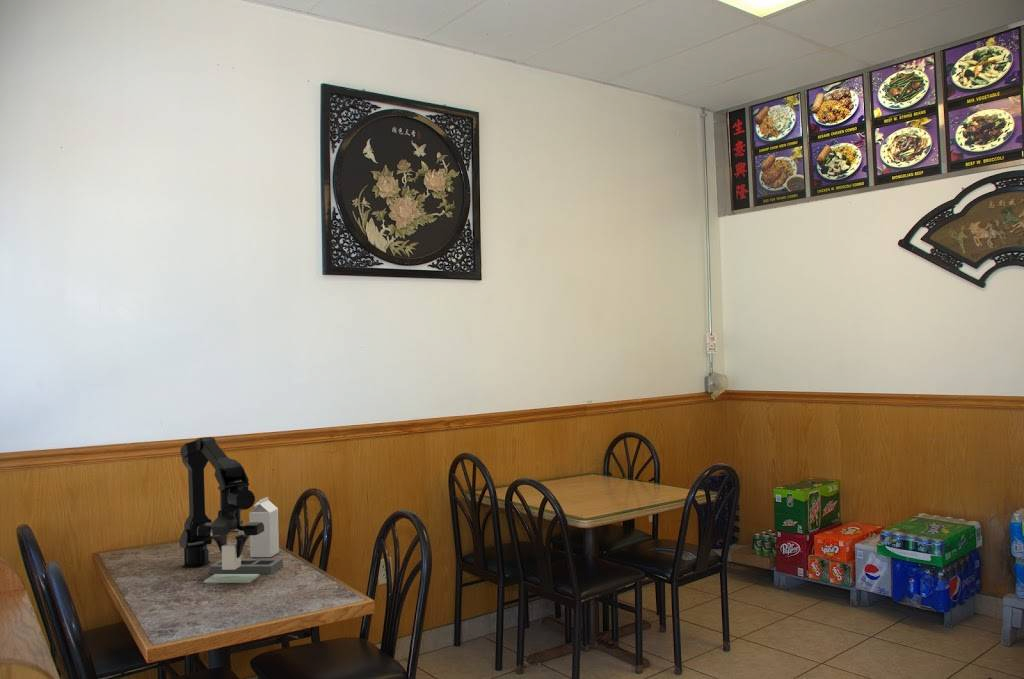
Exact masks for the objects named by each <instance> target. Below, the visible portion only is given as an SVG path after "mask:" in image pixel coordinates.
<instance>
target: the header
mask: <svg viewBox="0 0 1024 679" xmlns="http://www.w3.org/2000/svg"><path fill="white" fill-rule="evenodd" d="M283 561H284V559H283V558H241V566H240V567H238V568H237V569H235V570H222V558H221V559H220V560H218V561H216V562H215V563H212V564H211V565H209V566H208V575H214V574H259V575H272V574H274V573H276V572H277V571H279V568H280V569H282V566H284V562H283Z"/></svg>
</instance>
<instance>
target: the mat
mask: <svg viewBox="0 0 1024 679" xmlns="http://www.w3.org/2000/svg"><path fill="white" fill-rule="evenodd" d="M258 577H260V574H212V575H211V576H210V577H208V578H206V579H205V580H203V583H204V584H215V583H216V584H223V583H224V584H229V583H230V584H233V583H234V584H235V583H236V584H240V583H241V584H249V583H251V582H253V581H255V580H256V579H258Z"/></svg>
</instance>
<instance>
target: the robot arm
mask: <svg viewBox="0 0 1024 679" xmlns="http://www.w3.org/2000/svg"><path fill="white" fill-rule="evenodd" d="M180 456H181V461H182V464H183V465H184V466H185V468H186V469H187V474H188V476H187V478H188V479H187V480H188V481H187V483H188V508H189V509H188V510H189V511H188V512H189V514H188V516H187V518H186V520H185V522H184V524H183V531H182V533H181V535H180V538H179V539H178V543H179V547H180V548H181V549H183V552H184V553H183V558H184V560H183V563H184V564H181V568H201V567H203V566H204V565H206V564H208V563H211V562H210V561H211V560H209V548H208V545H212V541H213V540H214V541H215V543H216V544H217V547H218V549H219V552H220V554H221V555H222V546H223V545H225V544H226V543H228V535H229V534H230V533H238V535H235V536H234V537H235V540H236V543H237V552H236V553H237V558H239V557H240V555H241V556H242V552H243V549H244V546H245V544H246V542H247V540H248V538H250V535H258V534H260V533H262V532H263V531H264V525H263V523H262V522H251V523H250V522H249V523H247V524H245V525H243V520H241V518H242V517H241V515H242V514H241V513H242V512H241V511H243V510H244V511H245V510H250V508H252V507H254V505H255V502H256V496H255V494H254V493H253V491H252V490H249V486H250V482H249V477H248V475H247V473H246V471H245V468H244V466H243V465H242V463H240V462H239V461H237V460H236V459H233V458H230V457H228V455H226V453H225V452H224V450H222V448H221V447H220V446H219V445H218V443H217V441H216V438H215V437H212V436H207V437H206V436H204V437H199V438H196V439H195V440H193V441H190V442H185V443H183V445H182V446H181V448H180ZM208 463H210V465H211V466H212V467H213V469H214V470H215V471H214V477H215V480H216V481H217V483H218V485H219V486H218V487H217V490H219V493H220V494H219V505H220V506H219V507H220V508H219V510H218V512H217V517H216V518H215V519H214V520H213V521H212V520H211V518H209V517H208V516H207V514H206V497H205V496H206V495H205V492H206V491H205V468H206V466H207V464H208Z"/></svg>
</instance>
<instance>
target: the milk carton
mask: <svg viewBox="0 0 1024 679" xmlns="http://www.w3.org/2000/svg"><path fill="white" fill-rule="evenodd" d="M253 507H254V508H253V509H252V510H251V511H250V512H249V523H251V522H262V523H263V525H264V531H263V532H262V533H260V534H258V535H250V536H249V557H250V558H272V557H273V556H275V555H277V554H278V553H279V552H280V549H279V548H280V543H279V542H280V541H279V540H280V538H279V537H280V536H279V534H280V533H279V508H278V507H277V506H276V505H275V504H273V503H272V501H271V500H269V496H266V497H264V498H261V499H260V500H258V501H257V502H256V503H254V504H253Z"/></svg>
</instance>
